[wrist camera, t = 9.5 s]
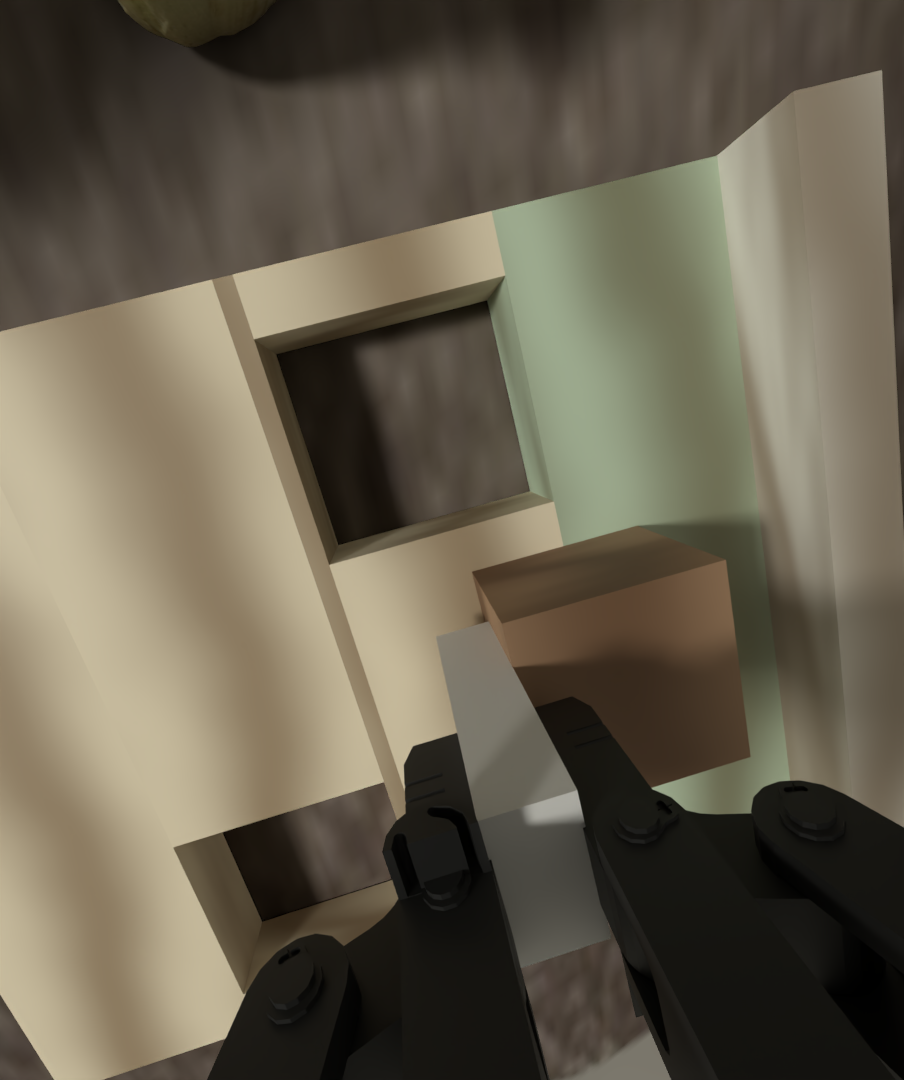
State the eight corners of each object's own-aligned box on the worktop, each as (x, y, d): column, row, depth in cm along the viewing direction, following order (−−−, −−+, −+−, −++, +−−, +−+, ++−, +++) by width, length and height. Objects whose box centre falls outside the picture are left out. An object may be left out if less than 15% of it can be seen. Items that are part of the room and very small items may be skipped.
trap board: (104, 1007, 19) (5, 1208, 14) (-229, 422, 14) (-569, 417, 9) (794, 782, 20) (920, 890, 16) (726, 184, 15) (882, 69, 10)
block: (509, 722, 16) (549, 819, 12) (471, 571, 14) (502, 623, 10) (662, 676, 16) (750, 756, 12) (637, 525, 15) (725, 559, 11)
